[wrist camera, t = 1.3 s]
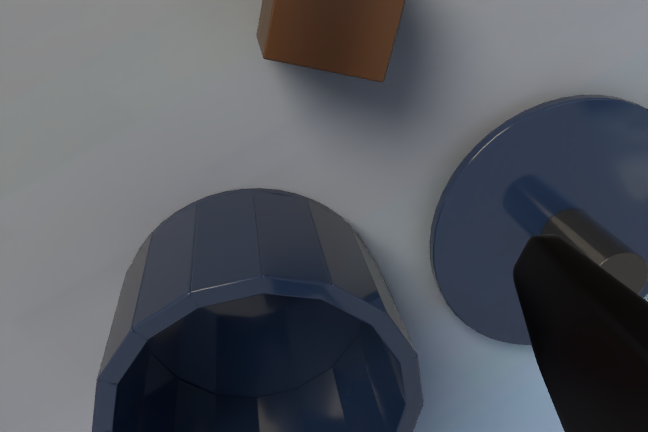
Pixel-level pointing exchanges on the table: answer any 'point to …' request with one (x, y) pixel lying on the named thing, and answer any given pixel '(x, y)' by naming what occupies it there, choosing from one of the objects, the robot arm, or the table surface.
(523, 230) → the lid
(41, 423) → the table surface
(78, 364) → the table surface
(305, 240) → the pot
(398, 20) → the block
